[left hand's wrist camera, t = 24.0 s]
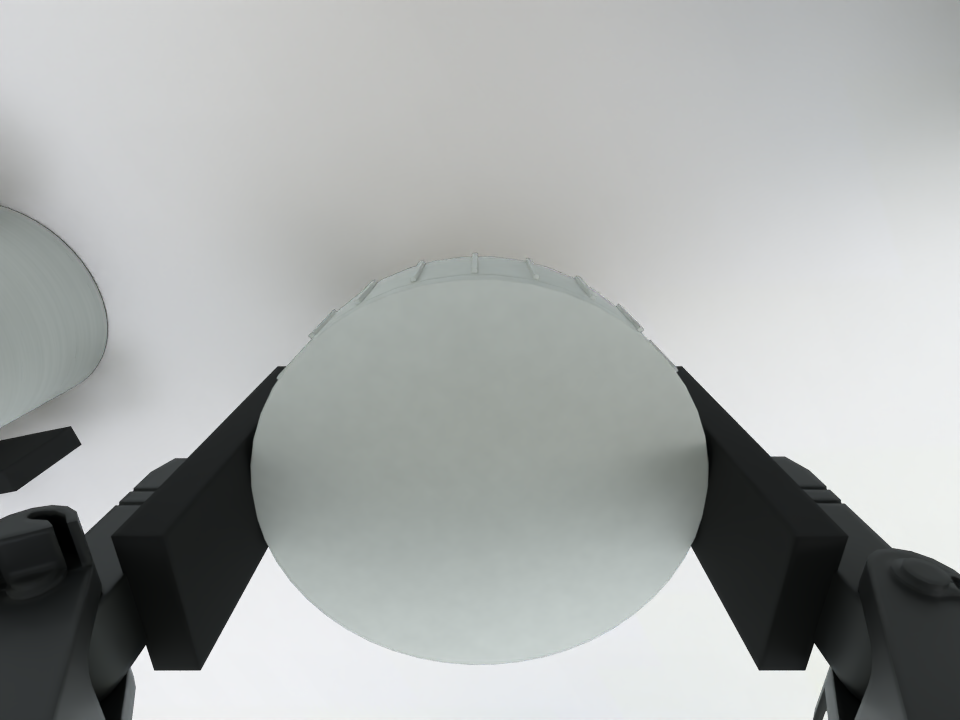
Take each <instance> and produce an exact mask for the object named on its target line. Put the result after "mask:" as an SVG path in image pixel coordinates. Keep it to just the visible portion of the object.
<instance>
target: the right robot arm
mask: <svg viewBox="0 0 960 720" xmlns="http://www.w3.org/2000/svg"><path fill="white" fill-rule="evenodd" d="M80 445H82V444H81V443H80V441H79V439H78V438H77V436H76V434H75V432H74V431H73V429H72V427H71V426H70V427H65V428H60V429H55V430H50V431H45V432H40V433H35V434H30V435H25V436H21V437H16V438H11V439H6V440H1V441H0V494H3V493H8V492H13V491H17V490H18V489H20V488H21V487H23V486H24V485H25V484H27V483H28V482H30V481H31V480H32V479H34V478H35V477H37V476H38V475H39V474H41V473H42V472H44V471H45V470H46V469H48V468H49V467H51V466H52V465H53V464H55V463H56V462H58V461H59V460H61V459H62V458H63V457H65V456H66V455H68V454H69V453H70V452H72V451H73V450H75V449H76V448H77V447H79V446H80Z"/></svg>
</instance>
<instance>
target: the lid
mask: <svg viewBox="0 0 960 720" xmlns="http://www.w3.org/2000/svg"><path fill="white" fill-rule="evenodd" d="M643 330H644V329H643V328H642V327H641V326H640V324H639V323H638V322H637V321H636V320H635V319H634V318H633V317H632V316H631V315H630V314H629V313H628V312H627V311H626V310H625V309H624V308H623V307H622V306H621V305H620V304H618V305H617V306H615V305H613V304H612V303H611V302H610V301H608V300H607V299H606V298H605V297H603V296H602V295H601V294H600V293H598V292H597V291H595V290H594V289H592V288H590V287H588V286H587V284H586V283H585V282H584V281H583V280H582V279H581V277H579V276H576V277H575V278H573V277H570V276H568V275H565V274H563V273H561V272H558V271H556V270H553V269H551V268H548V267H545V266H541V265H537V264H534V263H533V262H532V260H531V259H529V258H526V261H522V260H515V259H507V258H499V257H478V253H473V254H472V257H460V258H452V259H445V260H438V261H433V262H430V263H426V264H425V262H424V260H422V261H419V263H418V264H417V266H415V267H411V268H408V269H406V270H403V271H401V272H399V273H396V274H394V275H392V276H389V277H387V278H385V279H383V280H381V281H379V282H378V283H377V282H376V280H373V281H372V282H370V284H369V285H368V286H367V287H366V288H365V289H364V290H363V291H362V292H361V293H359V294H358V295H357V296H356V297H355V298H353V299H352V300H351V301H350V302H348V303H347V304H346V305H345V306H343V307H342V308H341V309H340V310H339V311H338V312H337V311H336V310H333V311H332V312H331V313H330V314H329V315H328V316H327V317H326V318H325V319H324V320H323V321H322V322H321V323H320V324H319V326H318V327H317V328H316V329H315V330H314V331H313V332H312V333H311V334H310V335H309V337H310V338H311V339H312V340H311V341H310V342H309V343H308V344H307V345H306V346H305V347H304V348H303V349H302V350H301V351H300V352H299V353H298V355H297V356H296V357H295V358H294V359H293V360H292V361H291V362H290V363H289V364H288V365H287V366H286V367H285V368H284V369H283V371H282V372H281V373H280V374H279V375H278V377H277V379H278V381H277V382H276V384H275V385H274V387H273V388H272V391H271V393H270V395H269V397H268V399H267V401H266V403H265V406H264V408H263V410H262V412H261V415H260V418H259V422H258V425H257V429H256V432H255V436H254V439H253V448H252V456H251V465H250V467H251V487H252V493H253V499H254V504H255V509H256V514H257V519H258V522H259V525H260V528H261V530H262V533H263V536H264V539H265V541H266V543H267V545H268V547H269V548H270V550H271V552H272V554H273V556H274V558H275V560H276V562H277V563H278V564H279V566H280V567H281V569H282V570H283V571H284V573H285V574H286V576H287V577H288V578H289V580H290V581H291V582H292V583H293V584H294V586H295V587H296V588H297V589H298V590H299V591H300V592H301V593H302V594H303V595H304V596H305V597H306V598H307V600H309V601H310V602H311V603H312V604H313V605H315V606H316V607H317V608H318V609H319V610H320V611H322V612H323V613H324V614H325V615H326V616H328V617H329V618H331V619H332V620H334V621H335V622H337V623H338V624H340V625H341V626H343V627H344V628H346V629H347V630H349V631H351V632H353V633H355V634H357V635H359V636H360V637H362V638H364V639H366V640H368V641H370V642H373V643H375V644H378V645H380V646H383V647H385V648H388V649H390V650H393V651H396V652H399V653H403V654H406V655H410V656H413V657H417V658H422V659H427V660H433V661H438V662H444V663H456V664H467V665H489V664H503V663H513V662H521V661H526V660H531V659H536V658H542V657H546V656H549V655H552V654H556V653H559V652H562V651H566V650H569V649H571V648H574V647H576V646H579V645H581V644H583V643H586V642H588V641H591V640H593V639H595V638H597V637H598V636H600V635H602V634H604V633H606V632H608V631H610V630H611V629H613V628H615V627H616V626H618V625H619V624H621V623H622V622H624V621H625V620H627V619H628V618H629V617H631V616H632V615H634V614H635V613H636V612H637V611H639V610H640V609H641V608H642V607H643V606H644V605H645V604H647V603H648V602H649V601H650V600H651V599H652V598H653V597H654V596H655V595H656V594H657V593H658V592H659V591H660V590H661V589H662V588H663V586H664V585H665V584H666V583H667V582H668V581H669V580H670V578H671V577H672V576H673V574H674V573H675V571H676V570H677V568H678V567H679V566H680V564H681V563H682V561H683V560H684V558H685V556H686V554H687V552H688V550H689V548H690V546H691V545H692V543H693V541H694V539H695V537H696V534H697V531H698V528H699V525H700V522H701V519H702V515H703V510H704V505H705V499H706V494H707V489H708V470H709V461H708V454H707V446H706V438H705V434H704V431H703V427H702V424H701V421H700V417H699V414H698V411H697V409H696V407H695V405H694V402H693V400H692V398H691V396H690V394H689V392H688V390H687V388H686V386H685V384H684V383H683V382H682V380H681V379H680V377H679V376H678V374H677V373H676V372H677V371H678V369H677V368H676V366H675V365H674V364H673V363H672V362H671V361H670V360H669V359H668V358H667V357H666V356H665V355H664V354H663V353H662V352H661V351H660V350H659V349H658V348H657V347H656V346H655V344H654V343H653V342H652V341H651V340H648V339H647V338H646V337H645V336H644V335H643V334H642V333H641V332H642V331H643Z"/></svg>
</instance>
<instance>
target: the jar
mask: <svg viewBox="0 0 960 720" xmlns="http://www.w3.org/2000/svg"><path fill="white" fill-rule="evenodd" d="M106 340H107V318H106V312H105V308H104V304H103V300H102V298H101V295H100V293H99V290H98V288H97V286H96V284H95V282H94V280H93V278H92V276H91V275H90V273H89V272H88V270H87V269H86V267H85V266H84V264H83V263H82V262H81V260H80V259H79V258H78V257H77V256H76V254H75V253H74V252H73V251H72V250H71V249H70V248H69V247H68V246H67V245H66V244H65V243H64V242H63V241H62V240H61V239H60V238H58V237H57V236H56V235H55V234H53V233H52V232H51V231H50V230H48V229H47V228H45V227H44V226H42V225H41V224H39V223H38V222H36V221H35V220H33V219H31V218H29V217H27V216H25V215H23V214H21V213H18V212H16V211H13V210H11V209H8V208H6V207H2V206H0V428H1V427H3V426H5V425H6V424H8V423H10V422H12V421H14V420H15V419H17V418H19V417H21V416H23V415H24V414H26V413H28V412H30V411H32V410H33V409H35V408H37V407H39V406H40V405H42V404H44V403H46V402H48V401H49V400H51V399H53V398H55V397H57V396H58V395H60V394H62V393H64V392H66V391H67V390H69V389H71V388H73V387H74V386H76V385H78V384H79V383H81V382H83V381H84V380H85V379H86V378H87V377H88V376H90V374H91V373H92V372H93V371H94V370H95V368H96V367H97V365H98V363H99V362H100V360H101V358H102V355H103V353H104V350H105V346H106Z"/></svg>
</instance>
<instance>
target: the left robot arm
mask: <svg viewBox="0 0 960 720" xmlns="http://www.w3.org/2000/svg"><path fill="white" fill-rule="evenodd" d="M285 367H286V366H278V367H277V368H276V369H275V370H274V371H273V372H272V373H271V374H270V375H269V376H268V377H267V378H266V379H265V380H264V381H263V382H262V383H261V384H260V385H259V386H258V387H257V388H256V389H255V390H254V391H253V392H252V393H251V394H250V395H249V396H248V397H247V398H246V399H245V400H244V401H243V402H242V403H241V404H240V405H239V406H238V407H237V408H236V409H235V410H234V411H233V412H232V413H231V414H230V415H229V416H228V417H227V419H226V420H225V421H224V422H223V423H222V424H221V425H220V426H219V427H218V428H217V429H216V430H215V431H214V432H213V433H212V434H211V435H210V436H209V437H208V438H207V439H206V440H205V441H204V442H203V443H202V444H201V445H200V446H199V447H198V448H197V449H196V450H195V451H194V452H193V453H192V454H191V455H190V456H189V457H188V458H175V459H173V460H171V461H170V462H168V463H166V464H164V465H163V466H161V467H159V468H157V469H156V470H154V471H152V472H150V473H149V474H148V475H147V476H146V477H145V478H144V479H143V480H142V481H141V482H140V483H139V484H138V485H137V486H136V487H135V488H134V491H133V492H129V493H128V494H127V495H126V496H125V497H124V498H123V499H122V500H121V501H120V502H119V505H116V506H115V507H113V508H112V509H111V510H110V511H109V512H108V513H107V514H106V515H105V516H104V517H103V518H102V519H101V520H100V521H99V522H98V523H97V524H95V525H94V526H93V527H92V528H91V529H90V530H89V531H88V532H87V533H86V534H85V535H84V532H83V529H82V526H81V523H80V521H79V518H78V515H77V512H76V511H74V510H73V509H71V508H69V507H68V506H57V505H50V506H43V507H36V508H31V509H27V510H24V511H21V512H18V513H14V514H11V515H8V516H6V517H4V518H2V519H0V720H132V714H133V706H134V697H135V689H136V687H135V681H134V676H133V673H132V670H131V666H132V664H133V663H134V661H135V660H136V658H137V657H138V656H139V654H140V653H141V651H142V650H143V648H144V647H145V645H146V646H147V649H148V652H149V656H150V659H151V662H152V665H153V668H154V670H201V669H202V667H203V665H204V663H205V661H206V659H207V658H208V656H209V654H210V652H211V650H212V649H213V647H214V645H215V643H216V641H217V639H218V638H219V636H220V634H221V632H222V630H223V628H224V627H225V625H226V623H227V621H228V619H229V617H230V616H231V614H232V612H233V610H234V608H235V607H236V605H237V603H238V601H239V599H240V597H241V596H242V594H243V592H244V590H245V588H246V586H247V585H248V583H249V581H250V579H251V577H252V575H253V574H254V572H255V570H256V568H257V566H258V565H259V563H260V561H261V559H262V557H263V555H264V554H265V552H266V550H267V548H268V545H267V543H266V541H265V539H264V536H263V533H262V530H261V528H260V525H259V522H258V519H257V514H256V509H255V504H254V499H253V493H252V487H251V467H250V465H251V456H252V448H253V439H254V436H255V432H256V429H257V425H258V422H259V418H260V415H261V412H262V410H263V408H264V406H265V403H266V401H267V399H268V397H269V395H270V393H271V391H272V388H273V387H274V385H275V384H276V382H277V381H278V379H277V377H278V375H279V374H280V373H281V372H282V371H283V369H284V368H285ZM676 368H677V369H678V371H677V372H676V373H677V374H678V376H679V377H680V379H681V380H682V382H683V383H684V384H685V386H686V388H687V390H688V392H689V394H690V396H691V398H692V400H693V402H694V405H695V407H696V409H697V411H698V414H699V417H700V421H701V424H702V427H703V431H704V434H705V438H706V446H707V454H708V461H709V470H708V489H707V494H706V499H705V505H704V510H703V515H702V519H701V522H700V525H699V528H698V531H697V534H696V537H695V539H694V541H693V543H692V545H691V547H692V549H693V551H694V552H695V554H696V556H697V558H698V560H699V561H700V563H701V565H702V567H703V569H704V571H705V572H706V574H707V576H708V578H709V580H710V582H711V583H712V585H713V587H714V589H715V591H716V593H717V594H718V596H719V598H720V600H721V602H722V603H723V605H724V607H725V609H726V611H727V613H728V614H729V616H730V618H731V620H732V622H733V624H734V625H735V627H736V629H737V631H738V633H739V635H740V636H741V638H742V640H743V642H744V644H745V645H746V647H747V649H748V651H749V653H750V655H751V656H752V658H753V660H754V662H755V664H756V666H757V667H758V669H759V670H806V667H807V664H808V661H809V657H810V654H811V651H812V648H813V645H814V643H815V645H816V646H817V647H818V649H819V650H820V652H821V653H822V655H823V656H824V658H825V659H826V660H827V662H828V663H829V665H830V667H829V670H828V673H827V676H826V679H825V682H824V685H823V688H822V690H821V693H820V696H819V699H818V702H817V705H816V708H815V712H814V718H813V720H823V717H824V714H825V711H827V712H828V720H960V574H959V573H957V572H956V571H955V570H953V569H951V568H950V567H948V566H946V565H944V564H942V563H940V562H938V561H936V560H934V559H932V558H929V557H926V556H924V555H921V554H918V553H915V552H912V551H907V550H901V549H895V548H891V547H890V546H889V545H888V544H887V543H886V542H885V541H884V540H883V539H882V538H881V537H880V536H879V535H878V534H876V533H875V532H874V531H873V530H872V529H871V528H870V527H869V526H868V525H867V524H866V523H865V522H864V521H863V520H862V519H860V518H859V517H858V516H857V515H856V514H855V513H854V512H853V511H852V510H851V509H850V508H849V507H848V506H847V505H846V504H842V503H841V500H840V499H839V498H838V497H837V496H836V495H835V494H834V493H833V492H832V491H831V490H827V488H826V486H825V485H824V484H823V483H822V482H821V481H820V480H819V479H818V478H817V477H816V476H815V475H814V474H813V473H812V472H810V471H809V470H808V469H806V468H804V467H802V466H801V465H799V464H797V463H795V462H794V461H792V460H790V459H788V458H786V457H770V456H769V454H768V453H767V452H766V451H765V450H764V449H763V448H762V447H761V446H760V445H759V444H758V443H757V442H756V441H755V440H754V439H753V438H752V437H751V436H750V435H749V434H748V433H747V432H746V431H745V430H744V429H743V428H742V427H741V426H740V425H739V424H738V423H737V422H736V421H735V420H734V419H733V418H732V417H731V416H730V415H729V414H728V413H727V412H726V411H725V410H724V409H723V408H722V407H721V406H720V405H719V404H718V403H717V402H716V401H715V400H714V399H713V397H712V396H711V395H710V394H709V393H708V392H707V391H706V390H705V389H704V388H703V387H702V386H701V385H700V384H699V383H698V382H697V381H696V380H695V379H694V378H693V377H692V376H691V375H690V374H689V373H688V372H687V371H686V370H685V369H684V368H683V367H682V366H676Z"/></svg>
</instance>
